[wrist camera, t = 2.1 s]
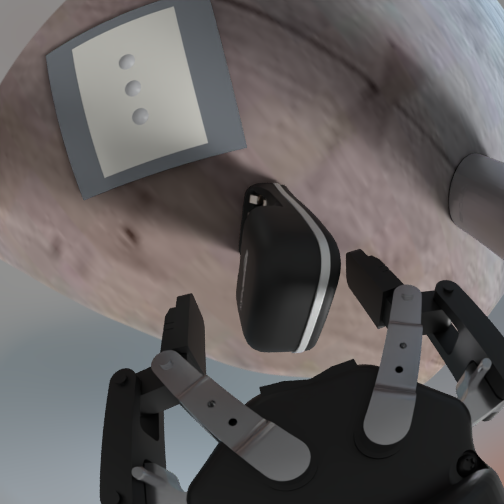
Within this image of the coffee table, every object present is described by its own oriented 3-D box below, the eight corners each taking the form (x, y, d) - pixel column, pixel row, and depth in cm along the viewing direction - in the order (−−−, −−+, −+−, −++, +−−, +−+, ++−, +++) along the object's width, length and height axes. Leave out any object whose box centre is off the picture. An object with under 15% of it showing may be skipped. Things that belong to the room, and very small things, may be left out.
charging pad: (207, -7, 12) (206, -13, 12) (245, 146, 19) (247, 147, 18) (52, 56, 12) (45, 55, 11) (88, 196, 19) (83, 201, 18)
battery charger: (236, 176, 20) (259, 245, 10) (286, 180, 20) (353, 250, 10) (228, 258, 23) (241, 369, 13) (272, 260, 24) (311, 365, 14)
